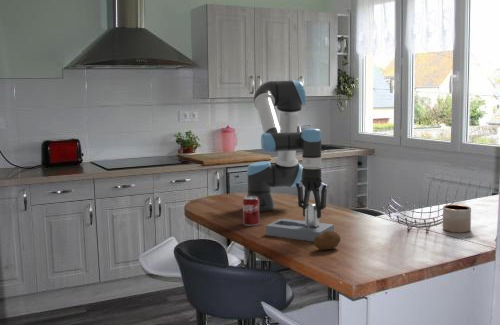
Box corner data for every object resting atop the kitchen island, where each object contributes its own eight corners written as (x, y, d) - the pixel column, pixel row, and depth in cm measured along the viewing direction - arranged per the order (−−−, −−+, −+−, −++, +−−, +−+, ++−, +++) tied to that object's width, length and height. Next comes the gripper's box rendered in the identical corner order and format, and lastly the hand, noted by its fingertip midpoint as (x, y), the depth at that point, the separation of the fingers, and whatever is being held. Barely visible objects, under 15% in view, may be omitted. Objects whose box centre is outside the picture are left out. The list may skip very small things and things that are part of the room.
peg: (309, 234, 223) (309, 203, 221) (318, 235, 221) (317, 204, 219) (306, 236, 220) (305, 205, 218) (314, 237, 218) (314, 205, 216)
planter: (469, 227, 229) (470, 205, 227) (471, 234, 219) (472, 210, 217) (442, 226, 232) (442, 203, 231) (442, 232, 222) (443, 209, 221)
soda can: (257, 226, 238) (257, 199, 237) (241, 225, 240) (241, 199, 238) (260, 222, 245) (260, 196, 244) (245, 222, 247) (244, 195, 245)
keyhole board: (266, 235, 224) (265, 225, 223) (282, 227, 235) (282, 218, 235) (319, 242, 211) (319, 232, 211) (334, 234, 223) (334, 224, 222)
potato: (309, 250, 201) (308, 231, 200) (331, 244, 208) (331, 226, 207) (321, 254, 196) (321, 235, 195) (344, 248, 203) (344, 230, 202)
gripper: (288, 167, 218) (289, 224, 221) (327, 170, 209) (327, 229, 212) (297, 165, 224) (297, 221, 227) (335, 167, 216) (335, 225, 219)
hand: (312, 225), depth 220 cm, fingers closed on peg, 4 cm apart
